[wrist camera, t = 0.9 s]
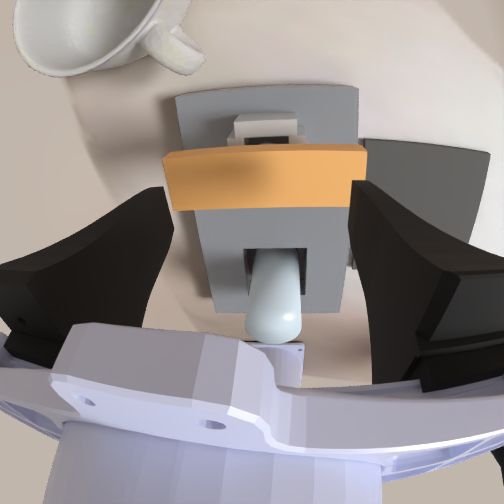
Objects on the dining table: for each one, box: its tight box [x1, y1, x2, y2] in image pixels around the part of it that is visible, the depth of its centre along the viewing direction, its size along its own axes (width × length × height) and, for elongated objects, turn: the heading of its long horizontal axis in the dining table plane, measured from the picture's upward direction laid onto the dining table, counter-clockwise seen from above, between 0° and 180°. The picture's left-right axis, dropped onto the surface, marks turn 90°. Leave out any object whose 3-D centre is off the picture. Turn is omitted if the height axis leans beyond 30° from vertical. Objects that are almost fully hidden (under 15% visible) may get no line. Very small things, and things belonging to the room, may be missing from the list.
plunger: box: [162, 142, 367, 211], centre depth 16 cm, size 3×10×4 cm, turn 94°
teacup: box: [13, 0, 205, 77], centre depth 13 cm, size 14×11×8 cm
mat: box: [352, 139, 491, 269], centre depth 23 cm, size 12×12×1 cm
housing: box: [175, 85, 359, 313], centre depth 23 cm, size 20×12×5 cm, turn 4°
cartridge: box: [245, 248, 301, 344], centre depth 24 cm, size 4×4×8 cm
